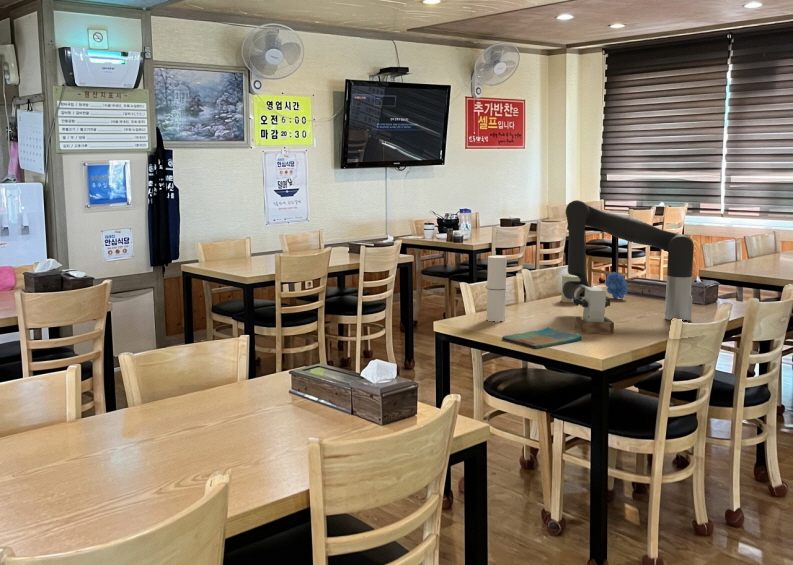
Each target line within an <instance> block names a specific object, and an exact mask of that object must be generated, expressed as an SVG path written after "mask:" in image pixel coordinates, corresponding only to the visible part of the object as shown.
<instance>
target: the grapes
mask: <svg viewBox="0 0 793 565" xmlns="http://www.w3.org/2000/svg"><path fill="white" fill-rule="evenodd" d="M604 285H605V286H606V287H607V288H606V293H607V294H610V295H612V298H614V299H618V298H619V299H620V300H623V298H625V295H627V294H628V288H627V287H628V285H629V284H628V281H626V280H624V276H623V275H622V274H620V273H619V274H618V273H617V272H615V271H612V272H611V274H610V273H609V274H606V280H605V281H604Z"/></svg>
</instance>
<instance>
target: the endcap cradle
mask: <svg viewBox="0 0 793 565" xmlns="http://www.w3.org/2000/svg"><path fill="white" fill-rule="evenodd" d="M574 319H575V321H574V322H575V323H574V328H575V329H576V330H578V331H579V332H580V333H581V334H600V335H601V334H610V335H611V334H612V335H614V334H615V333H614V332H615V331H614V330H615V322H614V321H612V320H611V319H610V318H609V317H607V316H604V322H584V321H583V318H581V317H580V316H575V318H574Z"/></svg>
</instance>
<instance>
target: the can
mask: <svg viewBox="0 0 793 565" xmlns="http://www.w3.org/2000/svg"><path fill="white" fill-rule="evenodd" d="M568 281H580V279H579V277H578V276H574V275H570V274H569V273H565V274H561V298H560V302H562V301H563V303H567V302H571V303H570V304H572V300H571V299H567V298H566V297H565V296H564V294H563V286H564V284H565V283H566V282H568Z"/></svg>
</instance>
